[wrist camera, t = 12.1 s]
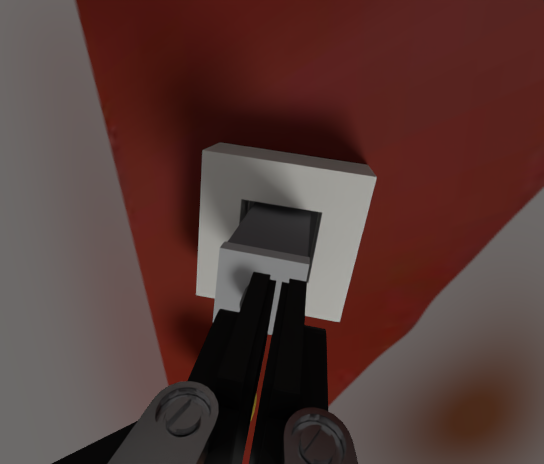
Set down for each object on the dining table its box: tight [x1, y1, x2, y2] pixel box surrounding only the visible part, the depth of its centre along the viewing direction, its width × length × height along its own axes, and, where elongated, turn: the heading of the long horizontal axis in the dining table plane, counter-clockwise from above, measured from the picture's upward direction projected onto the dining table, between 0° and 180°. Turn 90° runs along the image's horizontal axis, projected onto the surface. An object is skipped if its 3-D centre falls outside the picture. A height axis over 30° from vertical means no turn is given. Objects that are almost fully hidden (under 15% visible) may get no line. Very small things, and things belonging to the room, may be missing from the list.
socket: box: [196, 142, 377, 322], centre depth 24 cm, size 11×11×4 cm
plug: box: [213, 202, 311, 335], centre depth 20 cm, size 4×4×11 cm
